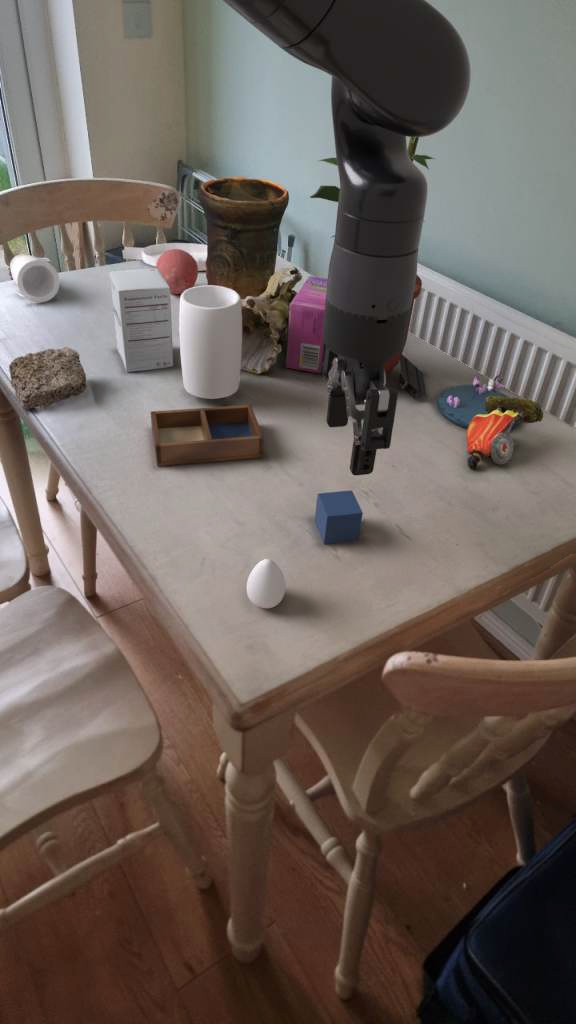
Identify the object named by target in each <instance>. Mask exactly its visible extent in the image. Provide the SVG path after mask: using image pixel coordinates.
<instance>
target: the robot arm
mask: <svg viewBox="0 0 576 1024" xmlns="http://www.w3.org/2000/svg"><path fill="white" fill-rule="evenodd" d="M222 1H223V2H224V3H225V4H227V5H228V6H229V7H230V8H231V9H233V11H234V12H236V13H237V14H239V15H240V16H241V17H242V18H243V19H244V20H245V21H247V22H248V23H249V24H250V25H252V26H253V27H254V28H256V29H257V30H258V31H259V32H260V33H261V34H262V35H264V36H265V37H266V38H267V39H269V40H270V41H272V42H273V44H275V45H276V46H278V47H279V48H280V49H281V50H283V51H284V52H285V53H287V54H288V55H289V56H291V57H293V58H294V59H296V60H297V61H298V62H301V63H303V64H305V65H307V66H310V67H312V68H315V69H317V70H320V71H322V72H324V73H326V74H328V75H330V76H331V87H330V103H331V104H330V105H331V118H332V119H331V120H332V127H333V139H334V148H335V158H337V165H338V166H337V170H338V171H337V172H338V176H339V177H338V178H339V188H340V193H339V200H338V202H337V211H336V219H335V220H336V222H335V231H334V235H335V237H334V240H333V247H332V251H331V254H330V259H329V264H328V271H327V279H328V281H327V291H326V302H325V312H324V323H323V333H322V339H323V342H324V344H325V345H326V351H325V359H324V367H323V369H322V377H323V379H324V380H328V381H327V383H326V390H327V393H328V399H327V409H326V410H327V411H326V424H327V426H328V427H329V428H343V427H346V426H347V425H348V423H349V421H351V422H352V429H353V442H352V449H351V454H350V463H349V470H350V472H351V474H352V475H353V476H365V475H370V474H372V473H373V472H374V468H375V463H376V462H375V461H376V456H377V450H388V449H390V447H391V442H392V437H393V430H394V425H395V417H396V410H397V405H398V404H397V403H398V397H399V396H398V395H399V393H398V390H397V388H396V387H386V384H387V376H385V370H384V365H385V363H386V362H387V361H388V360H390V359H391V358H393V357H395V356H396V355H398V354H399V353H400V352H401V351H402V349H403V347H404V344H405V338H406V332H407V327H408V321H409V316H410V310H411V305H412V299H413V293H414V288H415V282H416V276H417V275H418V257H419V248H420V247H419V246H420V242H421V236H422V230H423V224H424V221H425V220H424V219H425V213H426V207H427V200H428V182H427V178H426V176H425V174H424V173H423V172H422V170H421V169H419V167H418V166H417V165H416V164H415V163H414V161H413V162H412V161H411V159H410V157H409V155H408V152H407V149H408V145H407V137H408V138H410V137H419V138H424V137H428V136H429V137H430V136H433V135H435V134H437V133H439V132H441V131H442V130H444V129H445V128H447V127H448V126H449V125H450V124H452V122H453V121H454V120H455V119H456V118H457V117H458V115H459V114H460V112H462V109H463V107H464V105H465V103H466V101H467V99H468V94H469V91H470V86H471V76H472V75H471V74H472V73H471V72H472V71H471V63H470V57H469V53H468V50H467V48H466V47H467V46H466V44H465V42H464V40H463V38H462V37H461V35H460V33H459V32H458V30H457V29H456V28H455V26H454V25H453V24H452V23H451V22H450V20H448V18H447V17H446V16H444V14H443V13H441V12H440V11H439V10H438V9H437V8H436V7H435V6H433V5H432V4H430V3H429V2H428V1H427V0H222ZM423 220H424V221H423ZM404 348H405V347H404ZM357 406H364V409H363V410H359V409H357Z"/></svg>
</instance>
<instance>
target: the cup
mask: <svg viewBox="0 0 576 1024" xmlns="http://www.w3.org/2000/svg"><path fill="white" fill-rule="evenodd" d="M178 317H179V320H178V321H179V323H178V332H179V333H178V334H179V351H180V352H179V353H180V364H181V371H182V372H181V375H182V382H183V383H182V384H183V387H184V390H185V391H186V392H187V393H189V394H190V395H192V396H194V397H197V398H201V399H207V400H208V399H209V400H215V399H223V398H227V397H230V396H232V395H233V394H235V393H237V391H238V389H239V386H240V380H241V379H240V378H241V369H240V368H241V353H242V311H241V298H240V296H239V295H238V294H237V293H236V292H235V291H234V290H231V289H229V288H226V287H221V286H214V285H208V284H206V285H204V284H203V285H196V286H193V287H192V288H189V289H187V290H185V291H184V292H183V293H181V294H180V297H179V315H178Z"/></svg>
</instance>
